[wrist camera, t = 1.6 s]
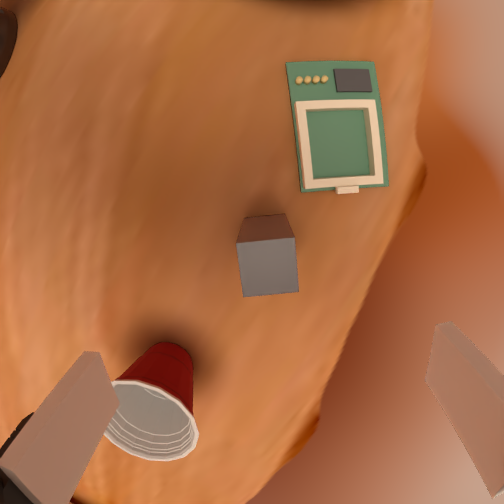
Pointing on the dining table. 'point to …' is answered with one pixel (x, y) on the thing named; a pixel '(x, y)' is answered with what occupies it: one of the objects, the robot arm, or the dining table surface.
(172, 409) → the plastic cup
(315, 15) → the dining table surface
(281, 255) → the dark grey rectangular block
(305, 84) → the board
